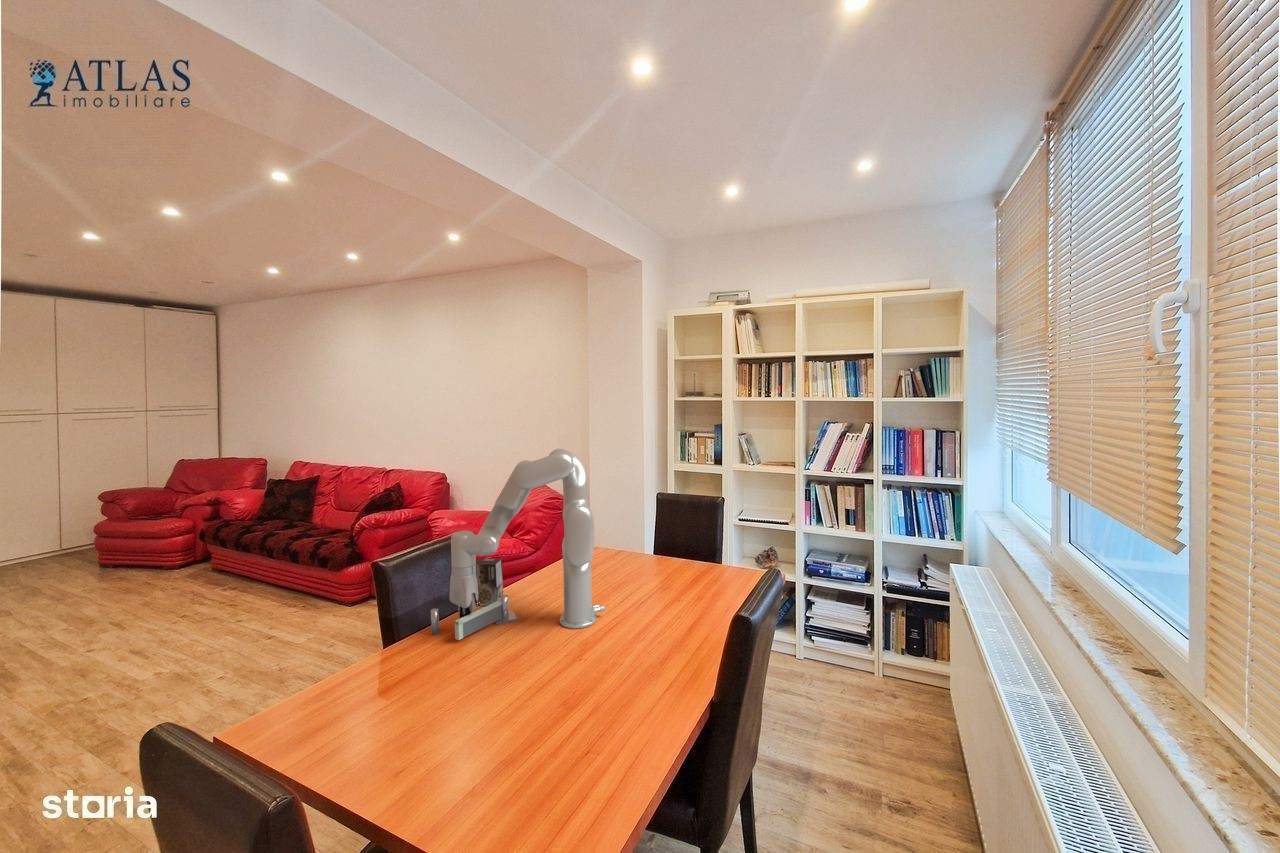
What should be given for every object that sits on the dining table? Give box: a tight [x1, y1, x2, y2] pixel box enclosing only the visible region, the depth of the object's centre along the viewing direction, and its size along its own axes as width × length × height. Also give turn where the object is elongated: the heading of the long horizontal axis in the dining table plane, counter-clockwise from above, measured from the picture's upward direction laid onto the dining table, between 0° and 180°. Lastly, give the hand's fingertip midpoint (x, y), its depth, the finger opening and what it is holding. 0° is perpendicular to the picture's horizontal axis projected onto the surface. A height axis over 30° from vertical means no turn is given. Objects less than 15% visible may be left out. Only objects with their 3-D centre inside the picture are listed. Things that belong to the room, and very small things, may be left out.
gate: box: [454, 601, 502, 641], centre depth 165 cm, size 18×2×6 cm, turn 149°
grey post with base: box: [494, 594, 518, 626], centre depth 174 cm, size 7×7×8 cm
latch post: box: [430, 607, 440, 636], centre depth 164 cm, size 2×2×8 cm
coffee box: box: [475, 558, 504, 607], centre depth 188 cm, size 9×6×16 cm
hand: (465, 624), depth 164 cm, fingers closed
